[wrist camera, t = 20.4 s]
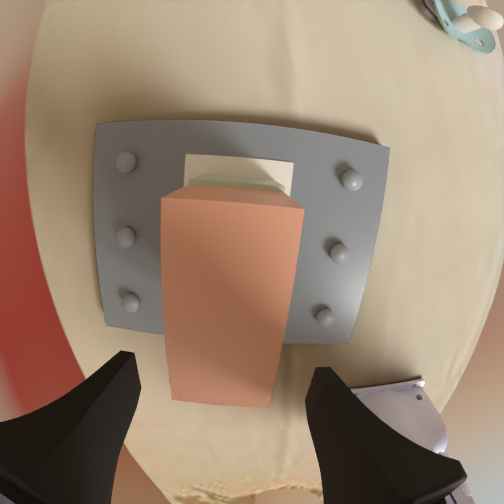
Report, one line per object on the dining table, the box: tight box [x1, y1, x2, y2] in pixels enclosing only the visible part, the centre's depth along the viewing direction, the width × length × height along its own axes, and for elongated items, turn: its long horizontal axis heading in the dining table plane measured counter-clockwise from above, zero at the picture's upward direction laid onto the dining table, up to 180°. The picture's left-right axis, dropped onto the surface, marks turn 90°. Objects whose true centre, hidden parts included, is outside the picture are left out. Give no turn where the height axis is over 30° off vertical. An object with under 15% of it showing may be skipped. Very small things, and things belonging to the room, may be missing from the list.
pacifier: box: [424, 0, 504, 53], centre depth 9 cm, size 7×6×6 cm
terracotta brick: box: [161, 185, 305, 407], centre depth 11 cm, size 4×8×4 cm, turn 174°
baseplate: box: [93, 120, 390, 344], centre depth 17 cm, size 18×14×2 cm
